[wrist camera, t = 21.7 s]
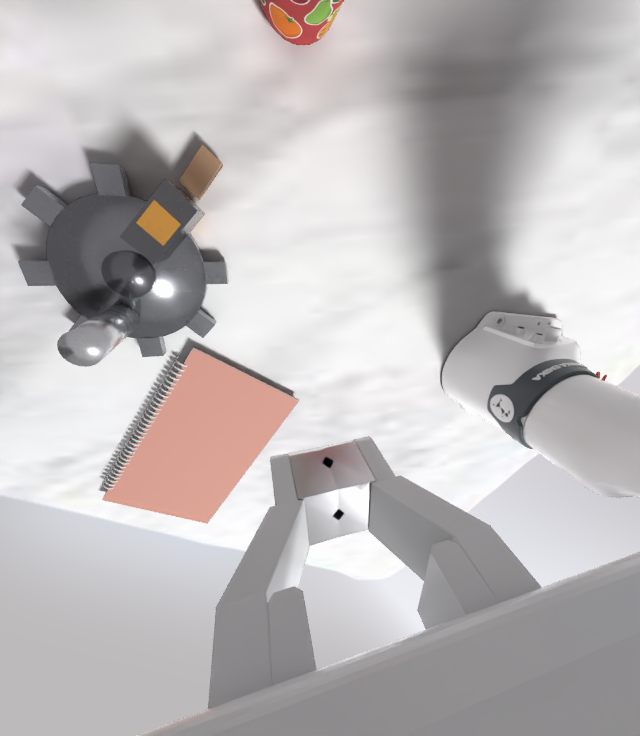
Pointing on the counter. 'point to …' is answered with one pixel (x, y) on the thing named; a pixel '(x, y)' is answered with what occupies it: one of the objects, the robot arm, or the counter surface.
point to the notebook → (198, 439)
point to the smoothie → (301, 18)
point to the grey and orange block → (162, 223)
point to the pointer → (200, 172)
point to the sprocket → (116, 273)
